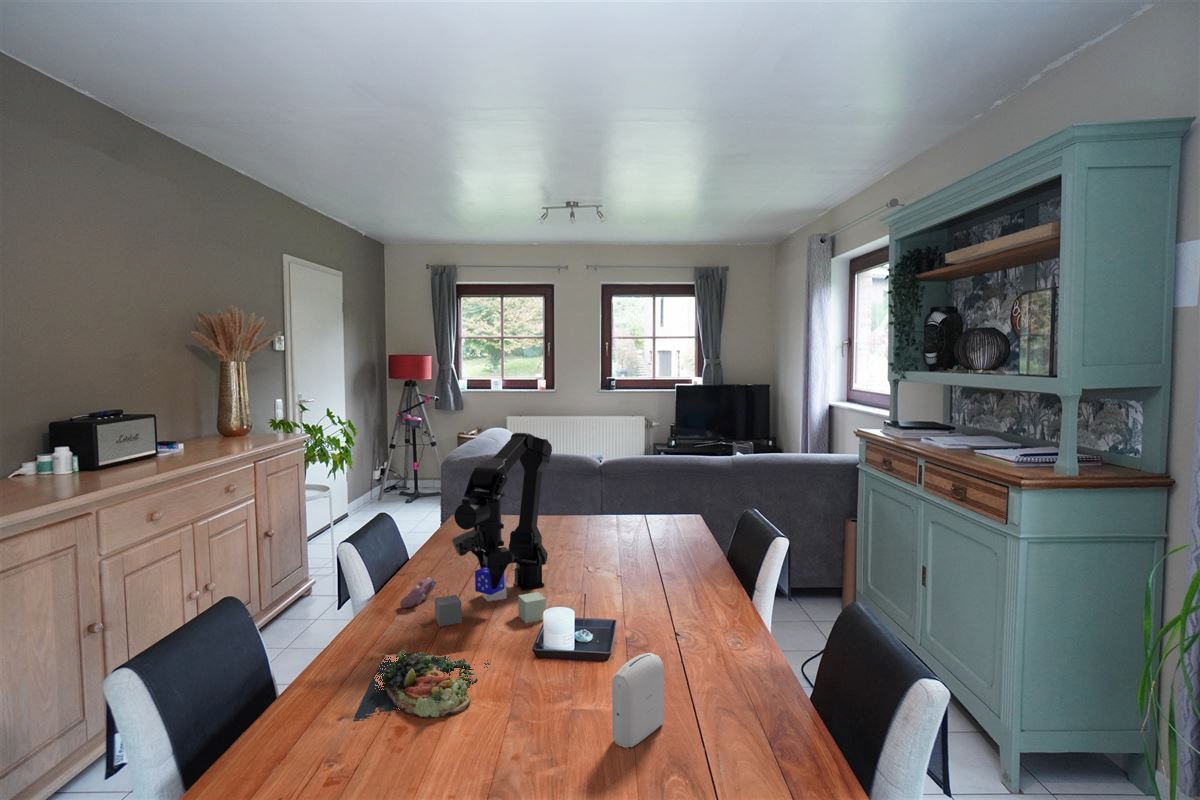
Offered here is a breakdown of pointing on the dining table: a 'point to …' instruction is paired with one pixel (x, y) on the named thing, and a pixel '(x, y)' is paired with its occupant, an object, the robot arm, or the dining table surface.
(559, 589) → the dining table surface
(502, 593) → the off-white block
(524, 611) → the sage green block
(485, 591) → the die
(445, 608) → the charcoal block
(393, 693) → the plated dish
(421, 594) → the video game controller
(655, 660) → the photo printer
